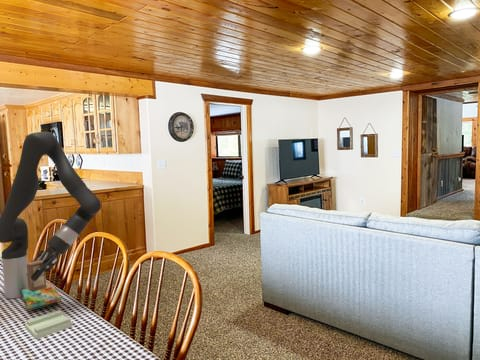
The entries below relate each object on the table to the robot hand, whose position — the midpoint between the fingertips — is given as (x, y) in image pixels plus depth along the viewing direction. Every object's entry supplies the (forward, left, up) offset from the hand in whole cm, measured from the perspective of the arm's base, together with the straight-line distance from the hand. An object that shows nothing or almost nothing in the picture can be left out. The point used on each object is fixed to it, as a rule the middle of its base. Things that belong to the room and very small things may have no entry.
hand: (30, 278), depth 133 cm
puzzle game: (-15, +7, -16) cm, 23 cm away
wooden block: (0, +2, -5) cm, 5 cm away
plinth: (+11, +2, -16) cm, 19 cm away
